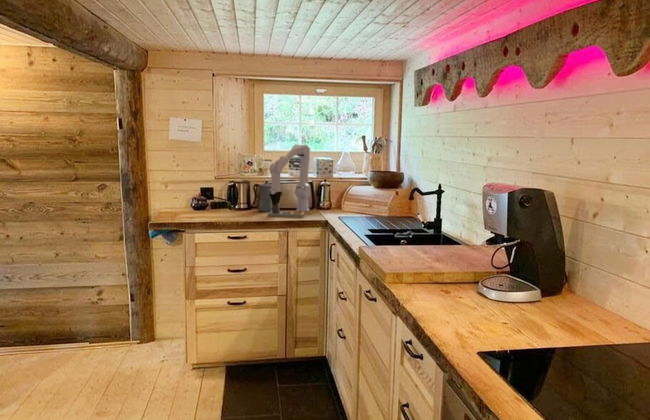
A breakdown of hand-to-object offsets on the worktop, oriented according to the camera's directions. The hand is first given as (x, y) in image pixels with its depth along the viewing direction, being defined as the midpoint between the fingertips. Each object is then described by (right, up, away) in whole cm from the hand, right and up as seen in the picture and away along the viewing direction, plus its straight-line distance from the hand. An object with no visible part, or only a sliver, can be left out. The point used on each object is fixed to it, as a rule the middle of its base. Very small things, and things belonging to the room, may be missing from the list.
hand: (275, 204), depth 302 cm
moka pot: (-9, -5, +17) cm, 20 cm away
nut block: (0, -7, +1) cm, 7 cm away
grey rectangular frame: (+7, -7, 0) cm, 10 cm away
